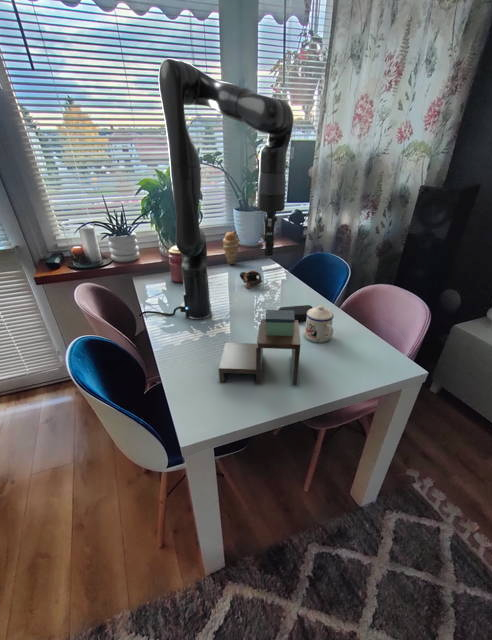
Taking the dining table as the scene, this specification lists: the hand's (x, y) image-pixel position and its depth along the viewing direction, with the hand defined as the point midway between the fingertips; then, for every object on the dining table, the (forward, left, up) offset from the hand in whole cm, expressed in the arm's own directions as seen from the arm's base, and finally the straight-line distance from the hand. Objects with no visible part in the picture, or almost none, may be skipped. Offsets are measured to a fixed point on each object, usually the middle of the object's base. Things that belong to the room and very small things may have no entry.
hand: (269, 251), depth 98 cm
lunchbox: (+4, -20, -16) cm, 26 cm away
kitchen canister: (-44, +57, -30) cm, 78 cm away
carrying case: (+11, +16, -30) cm, 36 cm away
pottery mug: (-10, +49, -30) cm, 58 cm away
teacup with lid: (+18, 0, -30) cm, 35 cm away
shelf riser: (-2, -20, -30) cm, 36 cm away
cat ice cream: (-23, +81, -19) cm, 87 cm away
